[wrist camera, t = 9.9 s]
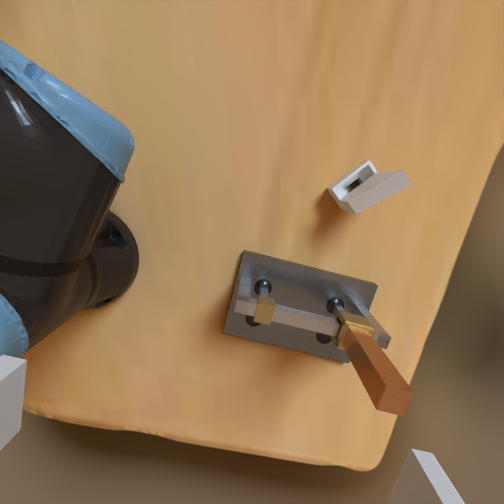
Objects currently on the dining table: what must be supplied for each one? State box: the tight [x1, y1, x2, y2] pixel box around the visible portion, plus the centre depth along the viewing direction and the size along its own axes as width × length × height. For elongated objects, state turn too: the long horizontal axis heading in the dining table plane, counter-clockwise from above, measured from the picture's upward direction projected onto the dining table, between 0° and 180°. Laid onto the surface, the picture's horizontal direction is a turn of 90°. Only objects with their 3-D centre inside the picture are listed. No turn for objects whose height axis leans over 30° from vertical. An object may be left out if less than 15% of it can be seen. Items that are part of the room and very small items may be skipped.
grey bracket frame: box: [234, 277, 391, 349], centre depth 40 cm, size 19×2×9 cm, turn 75°
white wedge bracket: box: [326, 160, 412, 214], centre depth 38 cm, size 4×10×9 cm
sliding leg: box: [330, 303, 414, 416], centre depth 35 cm, size 4×4×20 cm
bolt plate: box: [223, 250, 378, 363], centre depth 46 cm, size 20×13×1 cm, turn 76°
